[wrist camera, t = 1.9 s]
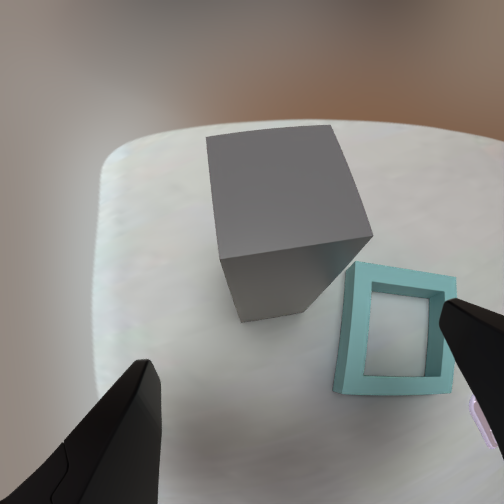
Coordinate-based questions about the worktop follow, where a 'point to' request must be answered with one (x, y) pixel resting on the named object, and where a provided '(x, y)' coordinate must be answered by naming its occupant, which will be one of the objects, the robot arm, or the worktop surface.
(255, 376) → the worktop surface
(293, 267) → the grey rectangular block
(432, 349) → the socket block
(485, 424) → the mobile phone
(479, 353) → the robot arm
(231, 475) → the worktop surface
